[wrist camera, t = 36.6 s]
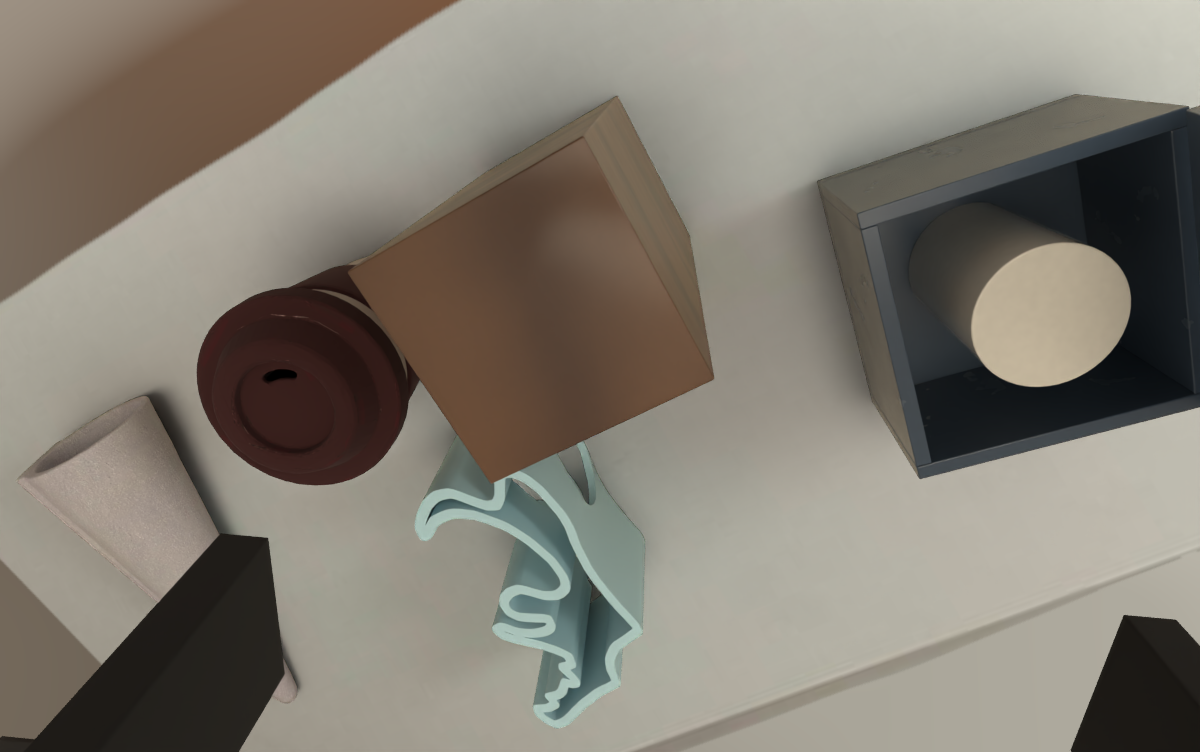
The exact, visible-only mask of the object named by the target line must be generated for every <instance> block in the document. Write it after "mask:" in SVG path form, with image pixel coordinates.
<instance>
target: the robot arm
mask: <svg viewBox="0 0 1200 752" xmlns="http://www.w3.org/2000/svg"><path fill="white" fill-rule="evenodd" d="M284 675H285V671H284V663H283V655H282V646H281V638H280V630H279V622H278V614H277V606H276V598H275V590H274V582H273V574H272V565H271V557H270V549H269V541H268V538H263V537H252V536H241V535H230V534H220V535H219V536H218V537H217V538H216V539H215V540H214V541H213V542H212V543H211V545H210V546H209V547H208V548H207V549H206V550H205V551H204V552H203V553H202V555H201V556H200V557H199V558H198V559H197V560H196V561H195V562H194V563H193V565H192V566H191V567H190V568H189V569H188V570H187V571H186V572H185V573H184V575H183V576H182V577H181V578H180V579H179V580H178V581H177V582H176V583H175V584H174V586H173V587H172V588H171V589H170V590H169V591H168V592H167V593H166V594H165V596H164V597H163V598H162V599H161V600H160V601H159V602H158V603H157V604H156V606H155V607H154V608H153V609H152V610H151V611H150V612H149V613H148V614H147V616H146V617H145V618H144V619H143V620H142V621H141V622H140V623H139V624H138V626H137V627H136V628H135V629H134V630H133V631H132V632H131V633H130V634H129V636H128V637H127V638H126V639H125V640H124V641H123V642H122V643H121V644H120V646H119V647H118V648H117V649H116V650H115V651H114V652H113V653H112V654H111V655H110V657H109V658H108V659H107V660H106V661H105V662H104V663H103V664H102V665H101V667H100V668H99V669H98V670H97V671H96V672H95V673H94V674H93V676H92V677H91V678H90V679H89V680H88V681H87V682H86V683H85V684H84V685H83V687H82V688H81V689H80V690H79V691H78V692H77V693H76V695H75V696H74V697H73V698H72V699H71V700H70V701H69V702H68V703H67V705H65V707H64V708H63V709H62V710H61V711H60V712H59V713H58V714H57V715H56V717H55V718H54V719H53V720H52V721H51V722H50V723H49V724H48V725H47V727H46V728H45V729H44V730H43V731H42V732H41V733H40V735H38V737H37V738H36V739H25V738H15V737H5V736H2V737H1V738H0V752H239V750H240V749H241V747H242V745H243V744H244V742H245V740H246V739H247V737H248V735H249V734H250V732H251V730H252V729H253V727H254V725H255V723H256V722H257V720H258V718H259V717H260V715H261V713H262V712H263V710H264V708H265V707H266V705H267V703H268V702H269V700H270V698H271V697H272V695H273V693H274V692H275V690H276V688H277V687H278V685H279V683H280V682H281V680H282V678H283V676H284ZM1071 752H1200V646H1199V645H1198V643H1197V642H1196V641H1195V640H1194V639H1193V638H1192V637H1191V636H1190V635H1189V634H1188V632H1187V631H1186V630H1185V629H1184V628H1183V627H1182V626H1181V625H1180V624H1179V622H1178V621H1177V620H1173V619H1161V618H1151V617H1140V616H1139V617H1138V616H1128V615H1124V616H1123V619H1122V621H1121V624H1120V627H1119V629H1118V631H1117V634H1116V636H1115V639H1114V642H1113V644H1112V647H1111V649H1110V652H1109V654H1108V657H1107V659H1106V662H1105V665H1104V667H1103V669H1102V672H1101V675H1100V677H1099V680H1098V682H1097V685H1096V687H1095V690H1094V692H1093V695H1092V697H1091V700H1090V702H1089V705H1088V708H1087V710H1086V713H1085V715H1084V718H1083V720H1082V723H1081V725H1080V728H1079V730H1078V733H1077V736H1076V738H1075V741H1074V743H1073V746H1072V748H1071Z"/></svg>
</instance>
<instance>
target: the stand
mask: <svg viewBox="0 0 1200 752" xmlns="http://www.w3.org/2000/svg"><path fill="white" fill-rule="evenodd" d="M348 274H349V276H350V277H351V279H352V280H353V282H354V283H355V285H356V286H357V287H358V289H359V290H360V292H361V293H362V295H363V296H364V298H365V299H366V301H367V302H368V304H369V305H370V307H371V308H372V310H373V311H374V313H375V314H376V315H377V317H378V318H379V320H380V321H381V323H382V324H383V326H384V327H385V329H386V330H387V332H388V333H389V335H390V336H391V338H392V339H393V341H394V342H395V343H396V345H397V346H398V348H399V349H400V351H401V352H402V354H403V355H404V357H405V358H406V360H407V361H408V363H409V364H410V366H411V367H412V369H413V370H414V371H415V373H416V374H417V376H418V377H419V379H420V380H421V382H422V383H423V385H424V386H425V388H426V389H427V391H428V392H429V394H430V395H431V396H432V398H433V399H434V401H435V402H436V404H437V405H438V407H439V408H440V410H441V411H442V413H443V414H444V416H445V417H446V419H447V420H448V422H449V423H450V424H451V426H452V427H453V429H454V430H455V432H456V433H457V435H458V436H459V438H460V439H461V441H462V442H463V444H464V445H465V447H466V448H467V450H468V451H469V452H470V454H471V455H472V457H473V458H474V460H475V461H476V463H477V464H478V466H479V467H480V469H481V470H482V472H483V473H484V475H485V476H486V478H487V479H488V480H489V482H490V483H491V484H492V483H494V482H496V481H499V480H501V479H503V478H505V477H507V476H509V475H511V474H514V473H516V472H518V471H520V470H522V469H524V468H526V467H528V466H531V465H533V464H535V463H537V462H539V461H541V460H543V459H545V458H548V457H550V456H552V455H554V454H556V453H558V452H560V451H562V450H565V449H567V448H569V447H571V446H573V445H575V444H577V443H579V442H582V441H584V440H586V439H588V438H590V437H592V436H594V435H597V434H599V433H601V432H603V431H605V430H607V429H609V428H611V427H614V426H616V425H618V424H620V423H622V422H624V421H626V420H628V419H631V418H633V417H635V416H637V415H639V414H641V413H643V412H645V411H648V410H650V409H652V408H654V407H656V406H658V405H660V404H662V403H665V402H667V401H669V400H671V399H673V398H675V397H677V396H680V395H682V394H684V393H686V392H688V391H690V390H692V389H694V388H697V387H699V386H701V385H703V384H705V383H707V382H709V381H711V380H713V379H714V374H713V368H712V362H711V356H710V350H709V345H708V339H707V333H706V327H705V322H704V316H703V310H702V304H701V299H700V293H699V287H698V281H697V275H696V270H695V264H694V258H693V252H692V247H691V241H690V235H689V233H688V231H687V230H686V228H685V226H684V224H683V222H682V220H681V218H680V216H679V214H678V212H677V210H676V208H675V206H674V204H673V202H672V200H671V198H670V197H669V195H668V193H667V191H666V189H665V187H664V185H663V183H662V181H661V179H660V177H659V175H658V173H657V171H656V169H655V167H654V166H653V164H652V162H651V160H650V158H649V156H648V154H647V152H646V150H645V148H644V146H643V144H642V142H641V140H640V138H639V136H638V135H637V133H636V131H635V129H634V127H633V125H632V123H631V121H630V119H629V117H628V115H627V113H626V111H625V109H624V107H623V105H622V104H621V102H620V100H619V98H618V96H616V97H614V98H612V99H611V100H609V101H607V102H605V103H604V104H602V105H600V106H599V107H597V108H595V109H594V110H592V111H590V112H588V113H587V114H585V115H583V116H582V117H580V118H578V119H576V120H575V121H573V122H571V123H570V124H568V125H566V126H564V127H563V128H561V129H559V130H558V131H556V132H554V133H552V134H551V135H549V136H547V137H546V138H544V139H542V140H540V141H539V142H537V143H535V144H534V145H532V146H530V147H529V148H527V149H525V150H523V151H522V152H520V153H518V154H517V155H515V156H513V157H511V158H510V159H508V160H506V161H505V162H503V163H501V164H499V165H498V166H496V167H494V168H493V169H491V170H489V171H487V172H486V173H484V174H483V175H481V176H480V177H478V178H477V179H476V180H474V181H473V182H471V183H470V184H469V185H467V186H466V187H464V188H463V189H462V190H460V191H459V192H457V193H456V194H455V195H453V196H452V197H451V198H449V199H448V200H446V201H445V202H444V203H442V204H441V205H439V206H438V207H437V208H435V209H434V210H432V211H431V212H430V213H428V214H427V215H425V216H424V217H423V218H421V219H420V220H419V221H417V222H416V223H414V224H413V225H412V226H410V227H409V228H407V229H406V230H405V231H403V232H402V233H400V234H399V235H398V236H396V237H395V238H393V239H392V240H391V241H389V242H388V243H387V244H385V245H384V246H382V247H381V248H380V249H378V250H377V251H375V252H374V253H373V254H371V255H370V256H368V257H367V258H366V259H364V260H363V261H361V262H360V263H359V264H357V265H356V266H354V267H353V268H352V269H350V270H349V271H348Z"/></svg>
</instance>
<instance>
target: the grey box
mask: <svg viewBox="0 0 1200 752" xmlns="http://www.w3.org/2000/svg"><path fill="white" fill-rule="evenodd" d="M1187 109H1189V106H1182V105H1173V104H1163V103H1154V102H1145V101H1135V100H1126V99H1117V98H1108V97H1098V96H1089V95H1079V94H1075V95H1072V96H1069V97H1066V98H1063V99H1060V100H1057V101H1054V102H1051V103H1048V104H1045V105H1042V106H1039V107H1036V108H1033V109H1030V110H1027V111H1024V112H1021V113H1018V114H1015V115H1012V116H1009V117H1006V118H1003V119H1000V120H997V121H994V122H991V123H988V124H985V125H982V126H979V127H976V128H973V129H970V130H967V131H964V132H961V133H958V134H955V135H952V136H949V137H946V138H943V139H940V140H937V141H934V142H931V143H928V144H925V145H922V146H919V147H916V148H913V149H910V150H907V151H905V152H902V153H899V154H896V155H893V156H890V157H887V158H884V159H881V160H878V161H875V162H872V163H869V164H866V165H863V166H860V167H857V168H854V169H851V170H848V171H845V172H842V173H839V174H836V175H833V176H830V177H827V178H824V179H821V180H818V181H817V183H818V187H819V191H820V195H821V199H822V203H823V207H824V211H825V215H826V219H827V223H828V227H829V231H830V235H831V239H832V243H833V247H834V251H835V255H836V259H837V263H838V267H839V271H840V275H841V279H842V283H843V287H844V291H845V295H846V299H847V303H848V307H849V311H850V315H851V319H852V323H853V327H854V331H855V335H856V339H857V343H858V347H859V351H860V355H861V359H862V363H863V367H864V371H865V375H866V379H867V383H868V387H869V391H870V395H871V399H872V402H873V404H874V405H875V407H876V408H877V410H878V412H879V413H880V415H881V417H882V418H883V420H884V422H885V423H886V425H887V426H888V428H889V430H890V431H891V433H892V435H893V436H894V438H895V440H896V441H897V443H898V445H899V446H900V448H901V449H902V451H903V453H904V454H905V456H906V458H907V459H908V461H909V463H910V464H911V466H912V467H913V469H914V471H915V472H916V474H917V476H918V477H919V479H922V478H926V477H930V476H934V475H938V474H942V473H946V472H950V471H953V470H957V469H961V468H965V467H969V466H973V465H977V464H981V463H985V462H988V461H992V460H996V459H1000V458H1004V457H1008V456H1012V455H1016V454H1020V453H1023V452H1027V451H1031V450H1035V449H1039V448H1043V447H1047V446H1051V445H1055V444H1058V443H1062V442H1066V441H1070V440H1074V439H1078V438H1082V437H1086V436H1089V435H1093V434H1097V433H1101V432H1105V431H1109V430H1113V429H1117V428H1121V427H1124V426H1128V425H1132V424H1136V423H1140V422H1144V421H1148V420H1152V419H1156V418H1159V417H1163V416H1167V415H1171V414H1175V413H1179V412H1183V411H1187V410H1191V409H1194V408H1198V407H1200V276H1199V264H1198V252H1197V240H1196V228H1195V215H1194V203H1193V191H1192V179H1191V167H1190V155H1189V142H1188V130H1187V118H1186V110H1187ZM979 202H982V203H993V204H998V205H1001V206H1004V207H1006V208H1008V209H1011V210H1013V211H1015V212H1017V213H1019V214H1022V215H1024V216H1026V217H1028V218H1030V219H1033V220H1035V221H1037V222H1039V223H1041V224H1044V225H1046V226H1048V227H1050V228H1053V229H1055V230H1057V231H1059V232H1061V233H1064V234H1066V235H1068V236H1070V237H1072V238H1075V239H1077V240H1079V241H1081V242H1083V243H1086V244H1088V245H1090V246H1092V247H1094V248H1096V249H1098V250H1100V251H1102V252H1104V253H1105V254H1107V255H1108V256H1110V257H1111V258H1112V259H1113V260H1114V261H1115V262H1116V263H1117V264H1118V265H1119V267H1120V268H1121V269H1122V271H1123V273H1124V275H1125V277H1126V279H1127V281H1128V285H1129V288H1130V294H1131V309H1130V316H1129V319H1128V323H1127V326H1126V328H1125V330H1124V333H1123V335H1122V337H1121V338H1120V340H1119V342H1118V343H1117V345H1116V346H1115V347H1114V349H1113V350H1112V351H1111V352H1110V353H1109V354H1108V355H1107V357H1106V358H1105V359H1104V360H1102V361H1101V362H1100V363H1099V364H1098V365H1097V366H1095V367H1094V368H1092V369H1091V370H1089V371H1088V372H1086V373H1085V374H1083V375H1081V376H1079V377H1077V378H1075V379H1072V380H1070V381H1067V382H1064V383H1061V384H1057V385H1051V386H1043V387H1029V386H1022V385H1016V384H1013V383H1010V382H1007V381H1005V380H1003V379H1001V378H999V377H998V376H996V375H994V374H993V373H992V372H991V371H989V370H988V369H987V368H986V367H985V366H984V365H983V364H982V363H981V362H980V361H979V360H978V359H977V358H976V357H975V356H974V355H973V354H972V353H971V352H970V351H969V350H968V349H966V348H965V347H964V346H963V345H962V344H961V343H960V342H959V341H958V340H957V339H956V338H955V337H954V336H953V335H952V334H951V333H950V332H949V331H948V330H947V329H946V328H945V327H944V326H943V325H942V324H941V323H940V322H939V321H938V320H937V319H936V318H934V317H933V316H932V315H931V314H930V313H929V312H928V311H927V310H926V309H925V308H924V307H923V306H922V305H921V304H920V302H919V301H918V300H917V298H916V297H915V295H914V293H913V291H912V288H911V285H910V281H909V262H910V257H911V253H912V250H913V248H914V246H915V244H916V242H917V240H918V238H919V237H920V235H921V234H922V233H923V231H924V230H925V229H926V228H927V227H928V226H929V225H930V224H931V223H932V222H933V221H934V220H935V219H937V218H938V217H939V216H941V215H942V214H944V213H945V212H947V211H949V210H951V209H953V208H956V207H959V206H962V205H965V204H970V203H979Z"/></svg>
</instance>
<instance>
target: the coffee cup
mask: <svg viewBox="0 0 1200 752" xmlns="http://www.w3.org/2000/svg"><path fill="white" fill-rule="evenodd" d="M366 258H367V257H365V258H361V259H358V260H355V261H353V262H351V263H349V264H347V265H343V266H338V267H334V268H331V269H328V270H326V271H323V272H321V273H319V274H317V275H315V276H313V277H311V278H308V279H306V280H304V281H302V282H300V283H298V284H296V285H293V286H291V287H289V288H281V289H274V290H270V291H266V292H262V293H260V294H257V295H254V296H252V297H250V298H248V299H247V300H245V301H243V302H241V303H240V304H238V305H236V306H235V307H233V308H232V309H230V310H229V311H227V312H226V313H225V314H224V315H222V316H221V317H220V318H219V319H218V320H217V321H216V322H215V324H214V325H213V326H212V327H211V329H210V330H209V332H208V334H207V335H206V337H205V340H204V342H203V344H202V346H201V349H200V353H199V358H198V363H197V384H198V390H199V395H200V398H201V402H202V405H203V408H204V410H205V413H206V415H207V417H208V419H209V421H210V423H211V424H212V426H213V427H214V429H215V430H216V432H217V433H218V435H219V436H220V438H221V439H222V440H223V441H224V442H225V443H226V444H227V445H228V446H229V447H230V449H231V450H232V451H233V452H234V453H236V454H237V455H238V456H239V457H241V458H242V459H243V460H245V461H246V462H247V463H248V464H250V465H251V466H253V467H255V468H257V469H259V470H260V471H262V472H264V473H266V474H268V475H270V476H273V477H276V478H278V479H281V480H284V481H288V482H292V483H297V484H305V485H329V484H336V483H340V482H344V481H347V480H350V479H353V478H355V477H357V476H359V475H361V474H363V473H365V472H366V471H368V470H369V469H371V468H372V467H374V466H375V465H376V464H377V463H378V462H379V461H380V460H381V459H382V458H383V457H384V456H385V454H386V453H387V452H388V450H389V449H390V448H391V446H392V445H393V443H394V442H395V440H396V439H397V437H398V435H399V433H400V431H401V429H402V427H403V424H404V421H405V418H406V416H407V409H408V401H409V399H410V397H411V396H412V394H413V392H414V390H415V388H416V386H417V384H418V382H419V380H420V379H419V377H418V376H417V374H416V373H415V371H414V370H413V369H412V367H411V366H410V364H409V363H408V361H407V360H406V358H405V357H404V355H403V354H402V352H401V351H400V349H399V348H398V346H397V345H396V343H395V342H394V341H393V339H392V338H391V336H390V335H389V333H388V332H387V330H386V329H385V327H384V326H383V324H382V323H381V321H380V320H379V318H378V317H377V315H376V314H375V313H374V311H373V310H372V308H371V307H370V305H369V304H368V302H367V301H366V299H365V298H364V296H363V295H362V293H361V292H360V290H359V289H358V287H357V286H356V285H355V283H354V282H353V280H352V279H351V277H350V276H349V274H348V271H349V270H350V269H352V268H353V267H354V266H356V265H357V264H359V263H360V262H361V261H363V260H364V259H366Z"/></svg>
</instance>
